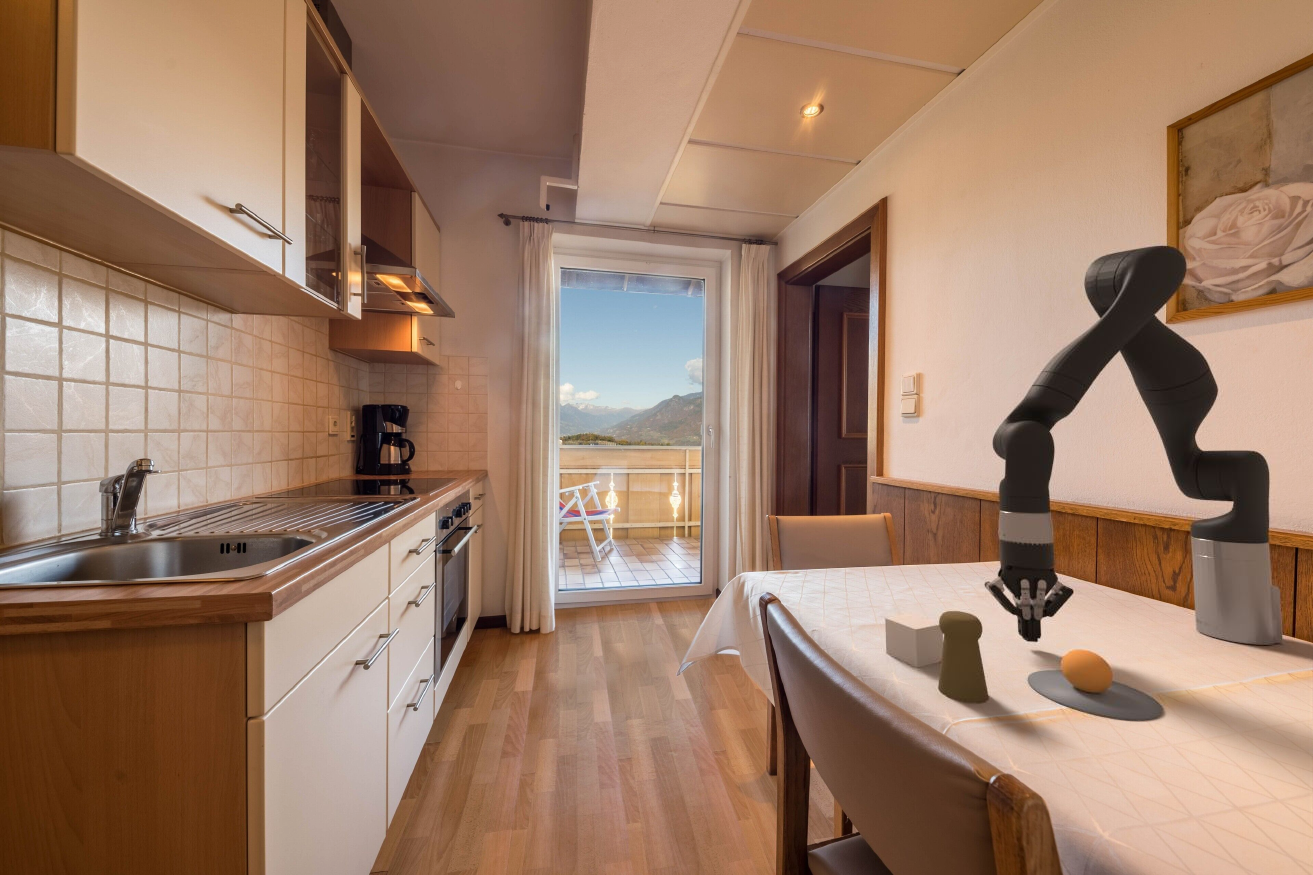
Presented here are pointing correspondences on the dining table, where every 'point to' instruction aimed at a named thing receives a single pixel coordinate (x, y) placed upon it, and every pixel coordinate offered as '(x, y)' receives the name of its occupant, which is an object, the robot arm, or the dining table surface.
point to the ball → (1087, 671)
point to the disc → (1096, 697)
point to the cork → (962, 658)
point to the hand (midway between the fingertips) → (1030, 639)
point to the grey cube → (914, 639)
